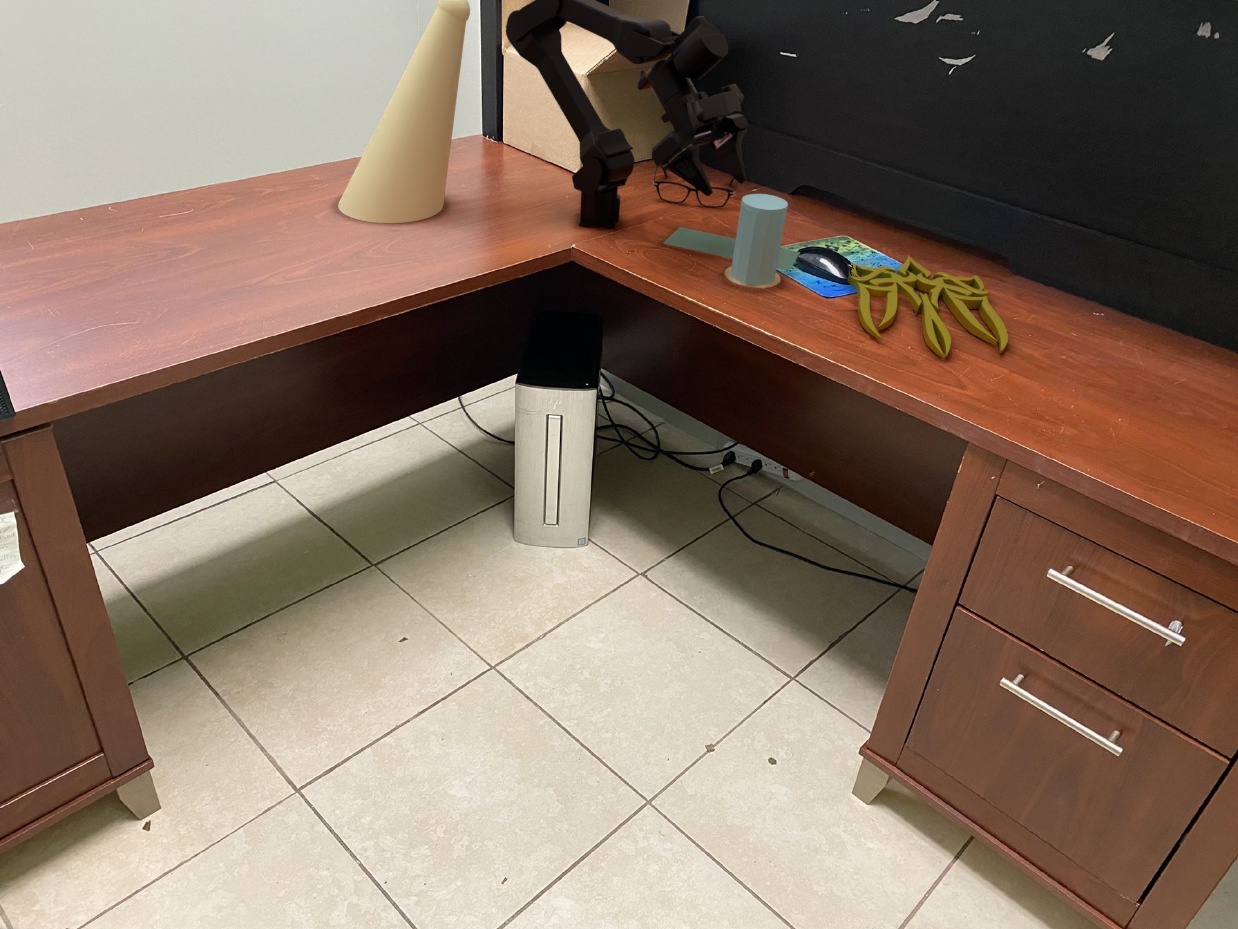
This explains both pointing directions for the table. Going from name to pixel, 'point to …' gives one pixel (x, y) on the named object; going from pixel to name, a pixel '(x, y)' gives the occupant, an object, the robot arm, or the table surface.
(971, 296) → the gold ornamental emblem
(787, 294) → the table surface
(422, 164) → the cone light
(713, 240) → the mat
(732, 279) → the knob on round base
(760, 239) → the tumbler
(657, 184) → the eyeglasses
